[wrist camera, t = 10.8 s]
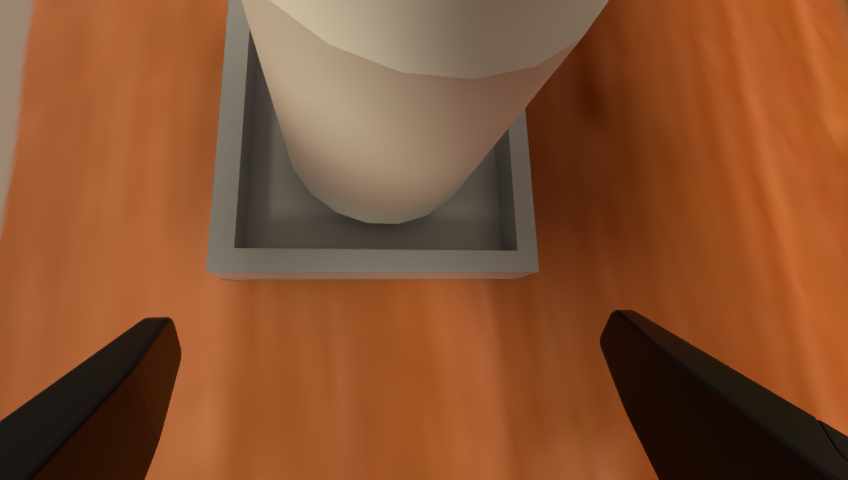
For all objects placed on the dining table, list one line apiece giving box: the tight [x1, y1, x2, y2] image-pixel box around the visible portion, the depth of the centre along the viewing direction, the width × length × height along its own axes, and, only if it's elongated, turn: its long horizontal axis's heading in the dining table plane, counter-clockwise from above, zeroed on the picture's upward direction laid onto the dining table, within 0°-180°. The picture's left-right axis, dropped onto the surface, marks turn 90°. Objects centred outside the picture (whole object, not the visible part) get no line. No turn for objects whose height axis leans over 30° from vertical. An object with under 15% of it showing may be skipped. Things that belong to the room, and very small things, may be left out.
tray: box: [206, 0, 539, 280], centre depth 17 cm, size 12×12×2 cm
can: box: [241, 0, 609, 224], centre depth 11 cm, size 8×8×12 cm
